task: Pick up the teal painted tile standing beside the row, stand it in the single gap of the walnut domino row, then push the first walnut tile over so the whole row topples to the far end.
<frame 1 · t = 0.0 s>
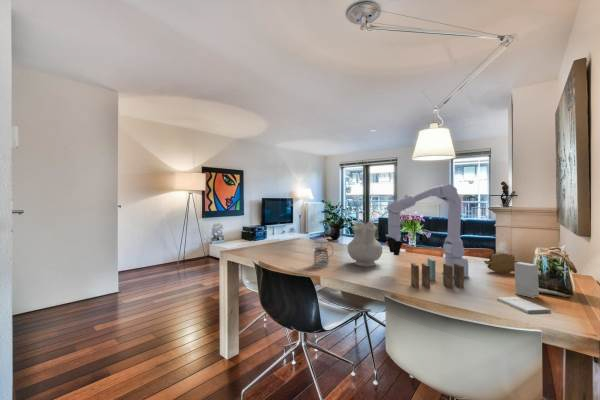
hand: (394, 253, 137), 10 cm above the table, tool pointing down, fingers open, 7 cm apart
external hard drive: (522, 308, 96), on the table
domino 4: (425, 285, 119), on the table
ceramic pitcher: (365, 265, 158), on the table
french press: (322, 266, 156), on the table
domino 5: (415, 285, 119), on the table
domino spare: (431, 278, 129), on the table
wooden carving: (502, 273, 140), on the table
skincare box: (526, 295, 106), on the table
domino 2: (447, 286, 118), on the table
domino 1: (458, 286, 118), on the table
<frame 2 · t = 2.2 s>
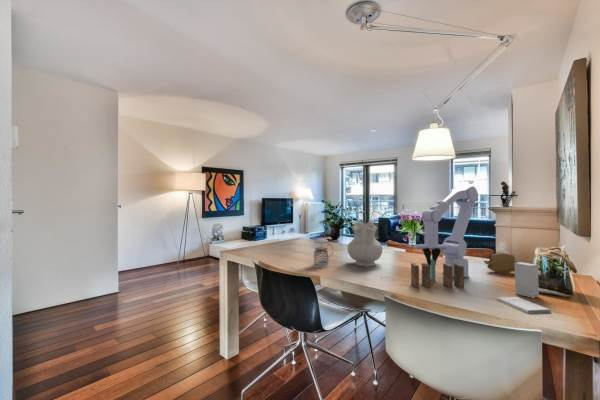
hand: (431, 264, 129), 6 cm above the table, tool pointing down, fingers closed on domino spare, 2 cm apart
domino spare: (431, 278, 129), on the table, touching gripper
everything else where it was.
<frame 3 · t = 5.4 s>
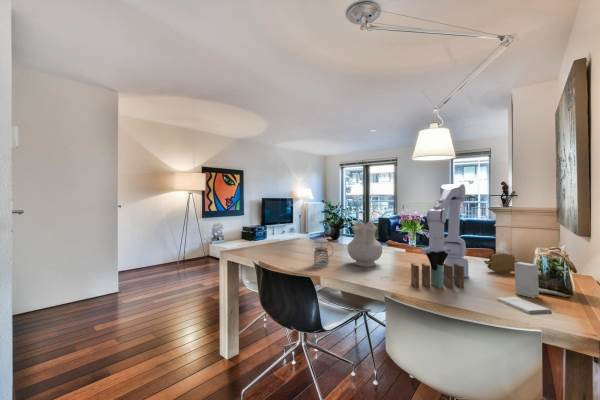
hand: (436, 269, 119), 7 cm above the table, tool pointing down, fingers closed
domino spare: (436, 286, 118), on the table
everything else where it was.
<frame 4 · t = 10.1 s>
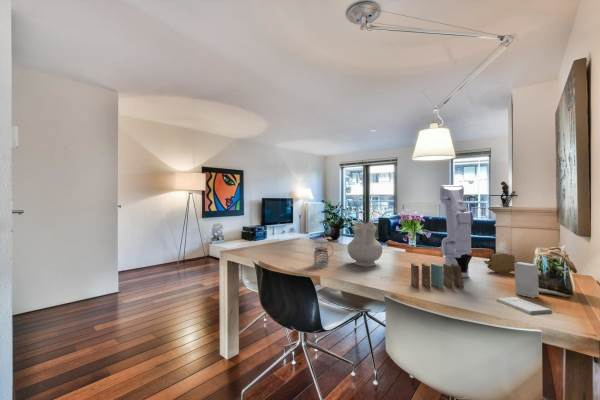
hand: (463, 272, 118), 6 cm above the table, tool pointing down, fingers closed
domino 1: (458, 286, 118), on the table, tilted 8°
everything else where it was.
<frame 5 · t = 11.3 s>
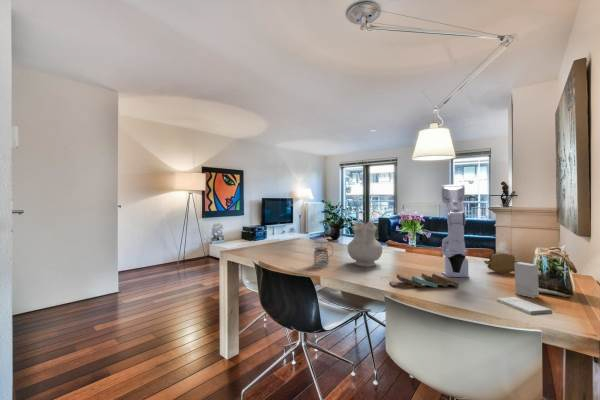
hand: (456, 272, 118), 6 cm above the table, tool pointing down, fingers closed
domino 4: (419, 283, 119), point 1 cm above the table, tilted 73°, touching domino 5, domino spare
domino 5: (412, 285, 119), on the table, tilted 90°, touching domino 4
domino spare: (433, 283, 119), point 1 cm above the table, tilted 74°, touching domino 2, domino 4
domino 2: (444, 283, 119), point 1 cm above the table, tilted 69°, touching domino 1, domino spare
domino 1: (455, 284, 118), point 1 cm above the table, tilted 69°, touching domino 2
everything else where it was.
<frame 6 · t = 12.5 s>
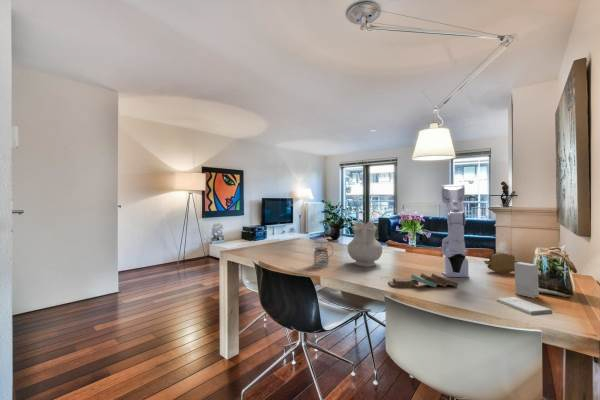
hand: (456, 272, 118), 6 cm above the table, tool pointing down, fingers closed
domino 4: (415, 281, 119), point 2 cm above the table, tilted 90°, touching domino 5
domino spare: (432, 283, 119), point 1 cm above the table, tilted 70°, touching domino 2
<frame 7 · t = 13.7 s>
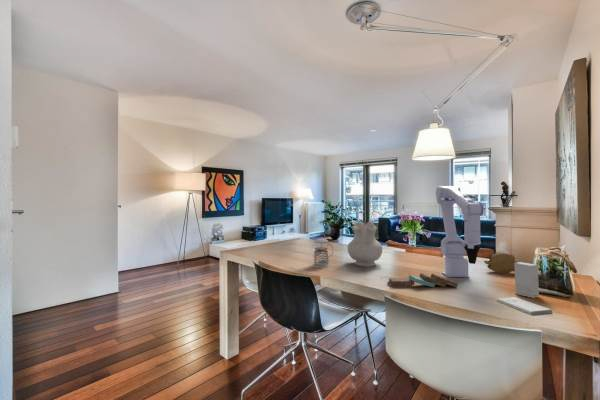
hand: (472, 263, 118), 10 cm above the table, tool pointing down, fingers closed
domino 4: (412, 281, 120), point 2 cm above the table, tilted 89°, touching domino 5, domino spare
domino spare: (430, 283, 119), point 1 cm above the table, tilted 73°, touching domino 2, domino 4
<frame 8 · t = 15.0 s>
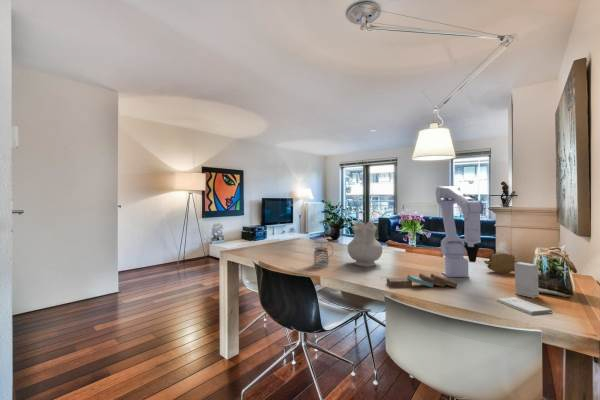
hand: (472, 261, 117), 10 cm above the table, tool pointing down, fingers closed
domino 4: (409, 281, 120), point 2 cm above the table, tilted 90°, touching domino 5
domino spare: (429, 283, 119), point 1 cm above the table, tilted 73°, touching domino 2
domino 1: (454, 284, 118), point 1 cm above the table, tilted 70°, touching domino 2
at the end: domino 5 tilted 90°; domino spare tilted 73° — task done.
